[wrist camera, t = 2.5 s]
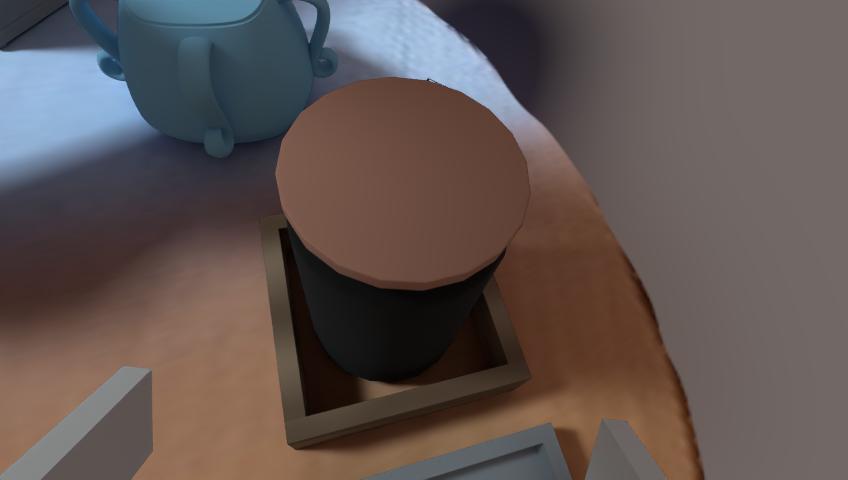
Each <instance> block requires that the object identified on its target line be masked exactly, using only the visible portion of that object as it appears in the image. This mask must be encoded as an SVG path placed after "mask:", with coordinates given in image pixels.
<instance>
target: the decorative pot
mask: <svg viewBox="0 0 848 480" xmlns="http://www.w3.org/2000/svg"><path fill="white" fill-rule="evenodd" d="M117 1H119V4H118V21H117V29H118V38H117V37H116V36H115V35H114V34H113V33H112V32H111V31H110V30H109V29H108V28H107V26H106V25H105V24H104V23H103V22H102V21H101V20H100V19H99V18H98V17H97V16H96V14H95V13H94V12H93V10H92V9H91V7H90V6H89V4H88V2H87V0H69V6H70V10H71V12H72V14H73V16H74V18H75V20H76V21H77V22H78V24H79V25H80V26H81V28H82V29H83V30H84V31H85V32H86V33H87V34H88V35H89V36H90V37H91V38H92V39H93V40H94V41H95V42H96V43H97V44H98V45H99V46H100V47H101V48H102V50H101V51H100V52H99V53H98V55H97V62H98V66H99V67H100V69H101V71H102V72H103V73H104V74H106V75H107V76H109V77H111V78H113V79H116V80H120V81H126V83H127V86H128V89H129V91H130V94H131V97H132V99H133V101H134V103H135V105H136V107H137V109H138V110H139V112H140V114H141V116H142V117H143V118H144V119H145V120H146V121H147V122H148V123H149V124H150V125H151V126H152V127H154V128H155V129H157V130H158V131H160V132H162V133H165V134H167V135H169V136H171V137H174V138H177V139H181V140H184V141H188V142H194V143H204V145H205V150H206V152H207V153H208V154H209V155H211V156H214V157H218V158H222V157H226V156H228V155H229V154H230V153H231V152H232V150H233V147H234V143H246V142H254V141H260V140H265V139H269V138H272V137H275V136H277V135H279V134H281V133H282V132H284V131H285V130H286V129H288V128H289V127H290V126H291V125H292V124H293V123H294V122H295V120H296V119H297V117H298V116H299V114H300V113H301V112H302V110H303V109H304V107H305V105H306V103H307V100H308V98H309V94H310V91H311V87H312V82H313V75H314V76H316V77H319V78H324V77H328V76H330V75H332V74H333V73H335V71H336V69H337V66H338V59H337V55H336V54H335V52H334V51H333V50H332V49H330V48H322V47H323V45H324V42H325V39H326V36H327V33H328V29H329V24H330V9H329V5H328V2H327V0H301V1H305V2H308V3H310V4H312V5H314V6H315V7H316V8H317V21H316V25H315V29H314V32H313V35H312V38H311V40H310V43H309V42H308V39H307V35H306V32H305V30H304V27H303V24H302V22H301V20H300V17H299V15H298V13H297V11H296V9H295V7H294V5H293V3H292V1H291V0H117ZM112 59H114V60H115V61H114V60H112ZM318 59H327V60H326V61H323V62H319V61H318Z"/></svg>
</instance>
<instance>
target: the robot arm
mask: <svg viewBox="0 0 848 480" xmlns="http://www.w3.org/2000/svg"><path fill="white" fill-rule="evenodd" d="M152 451H153V434H152V369H146V368H137V367H128V366H123V367H122V368H121V369H119V370H118V371H117V372H116V373H115V374H114V375H113V376H112V377H110V378H109V379H108V380H107V381H106V382H105V383H104V384H103V385H101V386H100V387H99V388H98V389H97V390H96V391H95V392H94V393H92V394H91V395H90V396H89V397H88V398H87V399H86V400H84V401H83V402H82V403H81V404H80V405H79V406H78V407H77V408H75V409H74V410H73V411H72V412H71V413H70V414H69V415H68V416H66V417H65V418H64V419H63V420H62V421H61V422H60V423H59V424H57V425H56V426H55V427H54V428H53V429H52V430H51V431H50V432H48V433H47V434H46V435H45V436H44V437H43V438H42V439H41V440H39V441H38V442H37V443H36V444H35V445H34V446H33V447H31V448H30V449H29V450H28V451H27V452H26V453H25V454H24V455H22V456H21V457H20V458H19V459H18V460H17V461H16V462H15V463H13V464H12V465H11V466H10V467H9V468H8V469H7V470H6V471H4V472H3V473H2V474H1V475H0V480H131V479H132V478H133V476H134V475H135V474H136V472H137V471H138V470H139V468H140V467H141V466H142V464H143V463H144V462H145V460H146V459H147V458H148V457H149V455H150V454H151V453H152ZM585 480H668V479H667V478H666V476H665V475H664V473H663V472H662V471H661V469H660V468H659V466H658V465H657V463H656V462H655V461H654V459H653V458H652V456H651V455H650V453H649V452H648V451H647V449H646V448H645V446H644V445H643V443H642V442H641V441H640V439H639V438H638V436H637V435H636V433H635V432H634V431H633V429H632V428H631V426H630V425H629V423H628V422H627V421H622V420H613V419H603V418H602V421H601V425H600V428H599V431H598V435H597V438H596V442H595V445H594V449H593V452H592V456H591V459H590V462H589V466H588V469H587V473H586V476H585Z"/></svg>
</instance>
